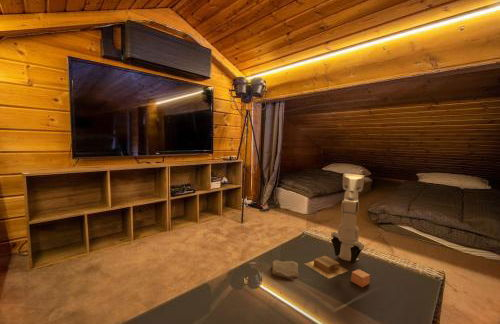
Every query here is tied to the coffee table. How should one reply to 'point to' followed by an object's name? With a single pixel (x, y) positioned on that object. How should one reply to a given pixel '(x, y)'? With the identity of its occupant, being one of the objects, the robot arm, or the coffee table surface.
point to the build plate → (329, 275)
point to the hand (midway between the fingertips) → (344, 259)
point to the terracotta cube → (360, 278)
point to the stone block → (285, 269)
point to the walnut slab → (326, 264)
